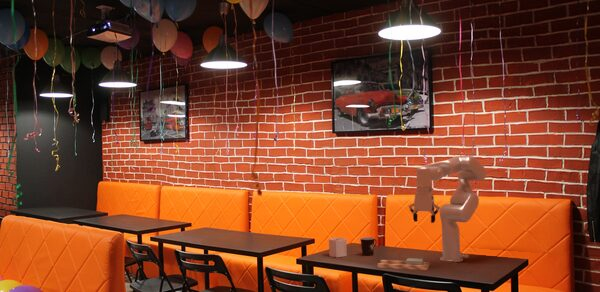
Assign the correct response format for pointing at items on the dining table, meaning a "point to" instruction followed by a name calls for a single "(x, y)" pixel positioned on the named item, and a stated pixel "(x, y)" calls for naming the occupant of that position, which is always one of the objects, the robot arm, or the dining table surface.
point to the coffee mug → (367, 246)
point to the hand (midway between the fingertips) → (424, 222)
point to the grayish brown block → (414, 261)
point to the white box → (337, 247)
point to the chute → (401, 265)
